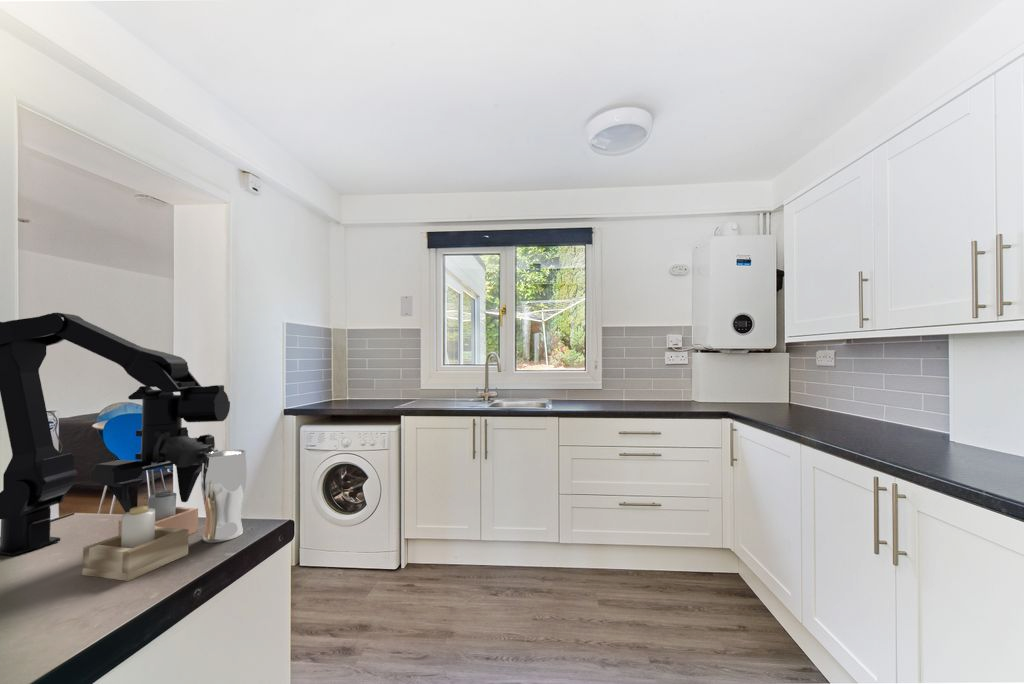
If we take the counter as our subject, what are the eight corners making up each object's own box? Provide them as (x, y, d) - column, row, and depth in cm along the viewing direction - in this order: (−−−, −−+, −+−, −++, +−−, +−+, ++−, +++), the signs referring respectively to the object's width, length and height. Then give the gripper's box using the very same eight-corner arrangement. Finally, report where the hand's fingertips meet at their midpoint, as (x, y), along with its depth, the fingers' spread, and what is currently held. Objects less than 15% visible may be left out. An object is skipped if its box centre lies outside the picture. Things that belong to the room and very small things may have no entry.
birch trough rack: (82, 574, 65) (83, 547, 65) (145, 549, 74) (146, 525, 74) (128, 580, 63) (129, 552, 63) (188, 554, 71) (188, 529, 72)
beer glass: (223, 545, 75) (224, 457, 76) (189, 542, 76) (191, 456, 77) (254, 530, 82) (255, 449, 82) (223, 527, 83) (224, 448, 84)
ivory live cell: (113, 561, 67) (115, 511, 67) (141, 550, 71) (142, 503, 71) (133, 563, 66) (135, 513, 66) (160, 552, 70) (161, 504, 70)
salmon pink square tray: (118, 545, 76) (118, 520, 76) (164, 528, 83) (165, 505, 84) (153, 548, 74) (154, 523, 74) (197, 531, 82) (198, 508, 82)
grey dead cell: (140, 536, 77) (143, 493, 78) (163, 528, 81) (166, 487, 82) (156, 539, 76) (159, 495, 77) (179, 531, 80) (182, 489, 81)
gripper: (141, 432, 69) (138, 532, 68) (241, 417, 87) (239, 496, 86) (89, 430, 71) (86, 527, 71) (196, 417, 89) (194, 493, 89)
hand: (159, 509), depth 79 cm, fingers open, 9 cm apart
